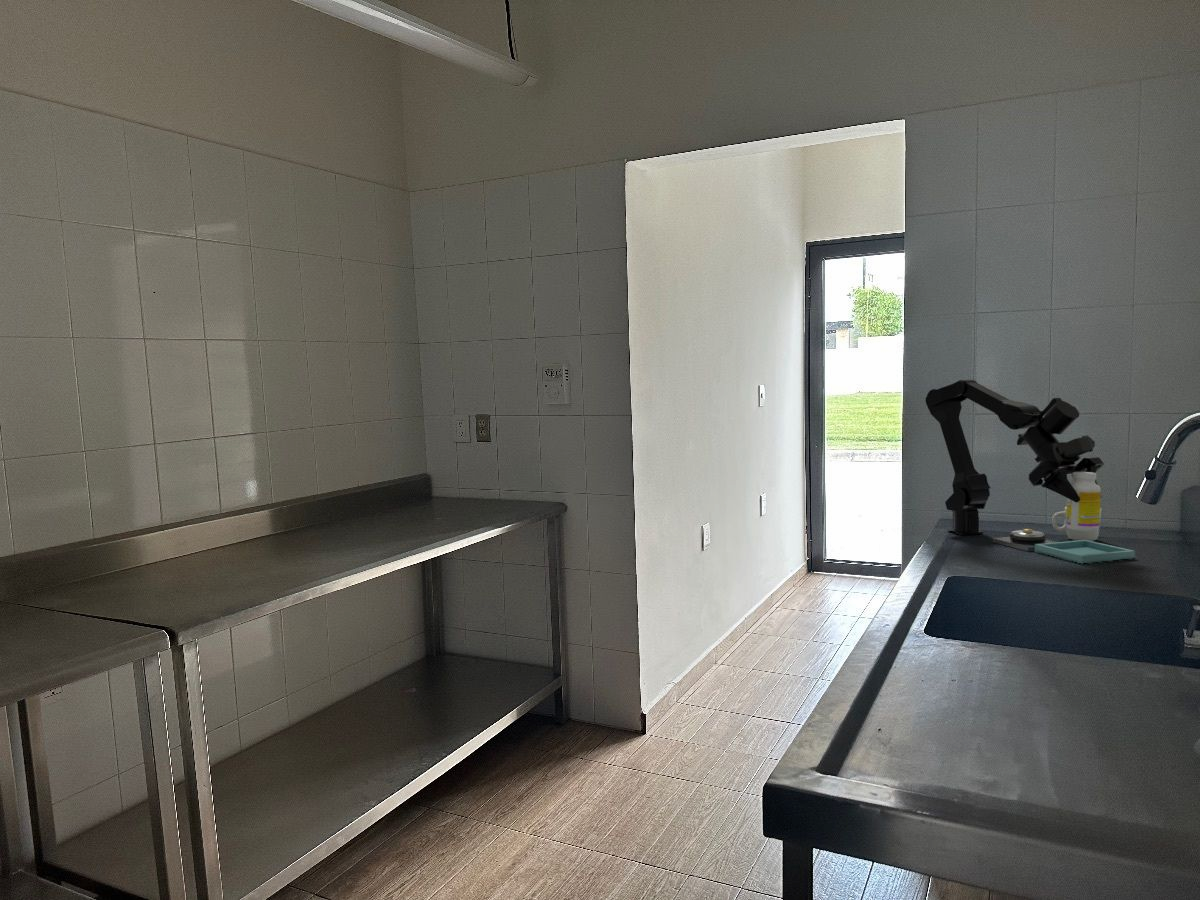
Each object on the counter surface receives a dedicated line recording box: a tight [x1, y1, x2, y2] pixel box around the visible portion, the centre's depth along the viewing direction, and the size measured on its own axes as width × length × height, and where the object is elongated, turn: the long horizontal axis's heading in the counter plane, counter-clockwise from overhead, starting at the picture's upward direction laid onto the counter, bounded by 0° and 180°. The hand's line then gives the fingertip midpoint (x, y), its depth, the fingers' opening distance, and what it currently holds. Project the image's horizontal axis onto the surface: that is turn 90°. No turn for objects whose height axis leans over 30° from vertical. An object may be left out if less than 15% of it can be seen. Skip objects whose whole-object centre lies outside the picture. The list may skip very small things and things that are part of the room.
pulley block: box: [992, 528, 1056, 552], centre depth 206 cm, size 12×10×4 cm
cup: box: [1051, 506, 1103, 542], centre depth 210 cm, size 11×8×8 cm
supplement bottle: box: [1066, 472, 1102, 531], centre depth 192 cm, size 7×7×13 cm
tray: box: [1034, 540, 1136, 565], centre depth 193 cm, size 14×14×2 cm
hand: (1089, 499), depth 191 cm, fingers closed on supplement bottle, 7 cm apart
